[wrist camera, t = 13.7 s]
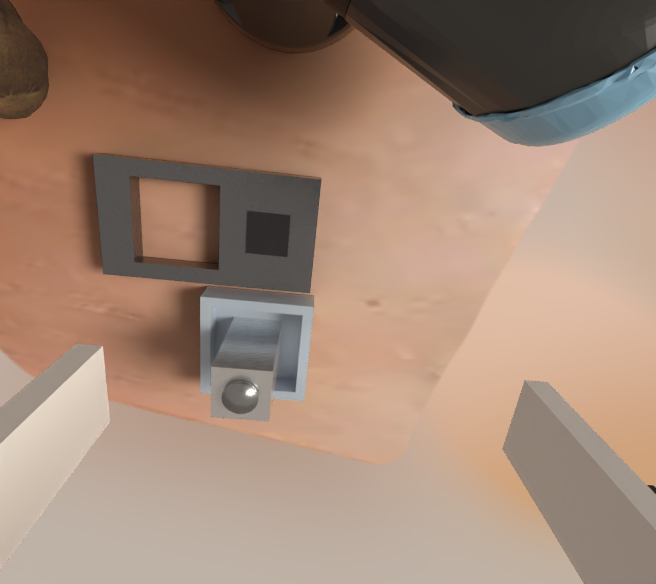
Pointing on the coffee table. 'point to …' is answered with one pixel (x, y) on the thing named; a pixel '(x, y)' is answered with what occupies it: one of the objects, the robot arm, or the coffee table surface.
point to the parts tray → (284, 307)
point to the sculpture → (20, 66)
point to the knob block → (246, 370)
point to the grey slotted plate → (235, 224)
